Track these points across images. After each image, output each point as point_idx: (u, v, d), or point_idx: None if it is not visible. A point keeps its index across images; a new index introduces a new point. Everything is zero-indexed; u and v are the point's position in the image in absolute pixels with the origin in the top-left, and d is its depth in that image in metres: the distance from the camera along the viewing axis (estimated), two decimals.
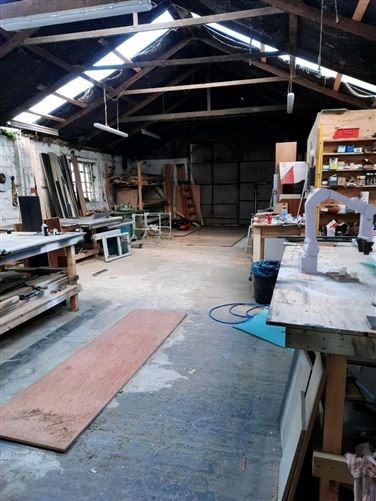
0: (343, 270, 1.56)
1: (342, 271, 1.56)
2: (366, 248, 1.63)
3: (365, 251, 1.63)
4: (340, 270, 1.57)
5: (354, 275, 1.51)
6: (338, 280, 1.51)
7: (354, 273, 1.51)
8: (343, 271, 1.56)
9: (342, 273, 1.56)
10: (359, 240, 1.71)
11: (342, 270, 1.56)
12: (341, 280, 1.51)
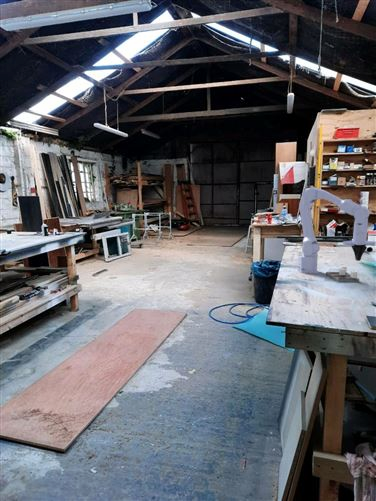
0: (343, 270, 1.56)
1: (342, 271, 1.56)
2: (356, 253, 1.56)
3: (355, 256, 1.56)
4: (340, 270, 1.57)
5: (354, 275, 1.51)
6: (338, 280, 1.51)
7: (354, 273, 1.51)
8: (343, 271, 1.56)
9: (342, 273, 1.56)
10: None
11: (342, 270, 1.56)
12: (341, 280, 1.51)
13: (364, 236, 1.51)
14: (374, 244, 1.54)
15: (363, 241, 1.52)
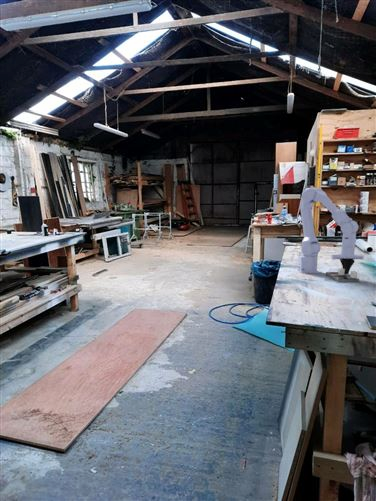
0: (342, 270, 1.56)
1: (341, 271, 1.56)
2: (344, 266, 1.57)
3: None
4: (339, 270, 1.57)
5: (354, 275, 1.51)
6: (338, 280, 1.51)
7: (354, 273, 1.51)
8: (342, 271, 1.56)
9: (341, 273, 1.56)
10: None
11: (341, 270, 1.56)
12: (341, 280, 1.51)
13: (352, 250, 1.53)
14: (362, 258, 1.55)
15: (351, 255, 1.53)
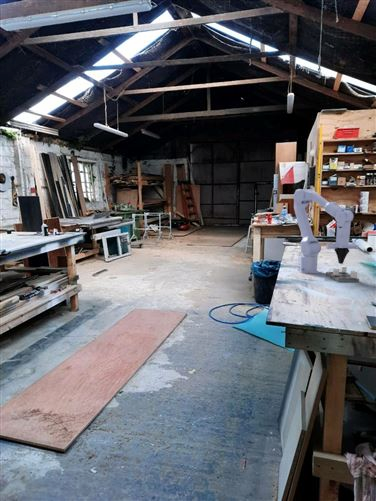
0: (337, 270, 1.56)
1: (336, 271, 1.56)
2: (339, 256, 1.56)
3: (338, 259, 1.57)
4: (334, 270, 1.57)
5: (354, 275, 1.51)
6: (338, 280, 1.51)
7: (354, 273, 1.51)
8: (337, 271, 1.56)
9: (336, 273, 1.57)
10: None
11: (336, 270, 1.56)
12: (341, 280, 1.51)
13: (346, 239, 1.52)
14: (357, 247, 1.54)
15: (345, 244, 1.52)
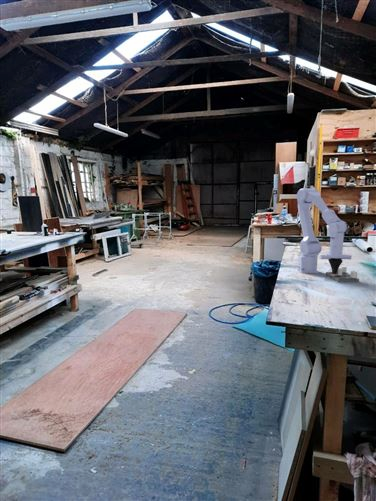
0: (340, 270, 1.56)
1: (339, 271, 1.56)
2: (332, 266, 1.57)
3: (332, 269, 1.58)
4: None
5: (354, 275, 1.51)
6: (338, 280, 1.51)
7: (354, 273, 1.51)
8: (340, 271, 1.56)
9: (339, 273, 1.56)
10: None
11: (339, 270, 1.56)
12: (341, 280, 1.51)
13: (340, 250, 1.53)
14: (350, 258, 1.55)
15: (339, 255, 1.53)
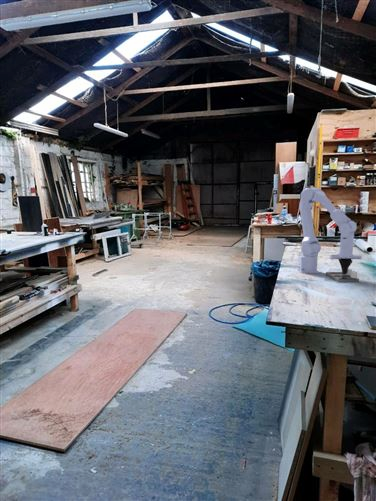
0: (350, 270, 1.56)
1: (349, 271, 1.56)
2: (343, 266, 1.57)
3: (342, 269, 1.58)
4: (347, 270, 1.57)
5: (354, 275, 1.51)
6: (338, 280, 1.51)
7: (354, 273, 1.51)
8: (350, 271, 1.56)
9: (349, 273, 1.56)
10: None
11: (349, 270, 1.56)
12: (341, 280, 1.51)
13: (350, 250, 1.53)
14: (360, 258, 1.55)
15: (349, 255, 1.53)
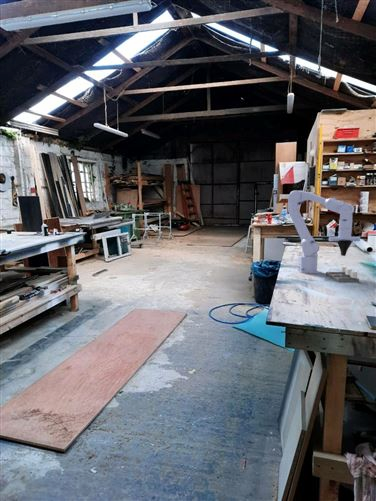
0: (349, 270, 1.56)
1: (348, 271, 1.56)
2: (341, 248, 1.60)
3: (341, 251, 1.61)
4: (346, 270, 1.57)
5: (354, 275, 1.51)
6: (338, 280, 1.51)
7: (354, 273, 1.51)
8: (349, 271, 1.56)
9: (348, 273, 1.56)
10: None
11: (348, 270, 1.56)
12: (341, 280, 1.51)
13: (349, 232, 1.56)
14: (359, 240, 1.58)
15: (348, 237, 1.56)
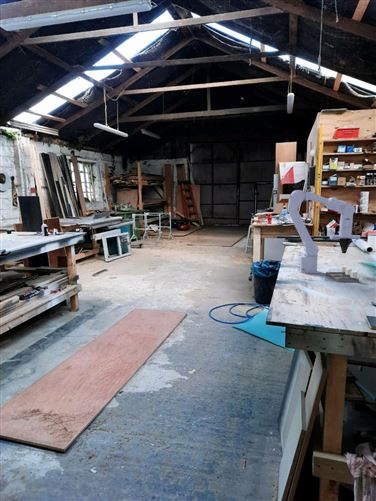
0: (349, 270, 1.56)
1: (348, 271, 1.56)
2: (342, 246, 1.66)
3: (341, 249, 1.67)
4: (346, 270, 1.57)
5: (354, 275, 1.51)
6: (338, 280, 1.51)
7: (354, 273, 1.51)
8: (349, 271, 1.56)
9: (348, 273, 1.56)
10: None
11: (348, 270, 1.56)
12: (341, 280, 1.51)
13: (349, 230, 1.62)
14: (359, 238, 1.64)
15: (348, 235, 1.62)
